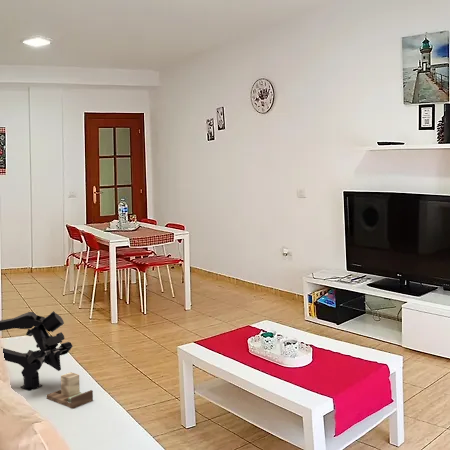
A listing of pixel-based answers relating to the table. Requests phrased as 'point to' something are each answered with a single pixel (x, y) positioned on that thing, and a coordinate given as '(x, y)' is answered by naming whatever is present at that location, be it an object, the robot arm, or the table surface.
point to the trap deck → (71, 398)
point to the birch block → (70, 384)
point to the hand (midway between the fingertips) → (59, 370)
